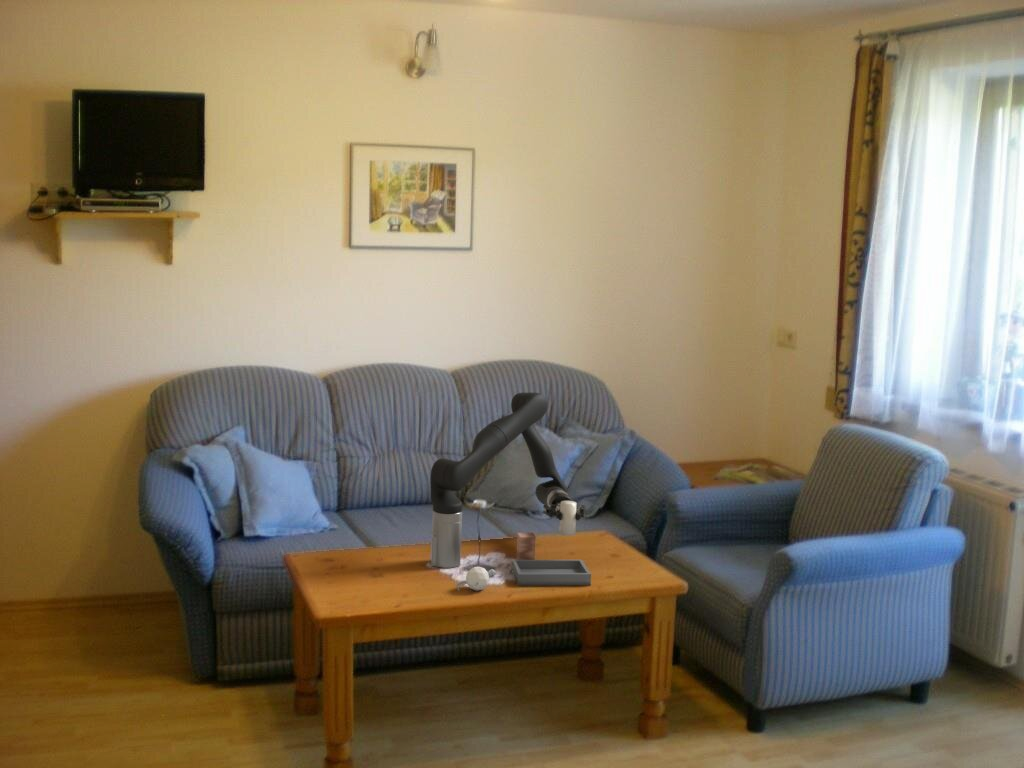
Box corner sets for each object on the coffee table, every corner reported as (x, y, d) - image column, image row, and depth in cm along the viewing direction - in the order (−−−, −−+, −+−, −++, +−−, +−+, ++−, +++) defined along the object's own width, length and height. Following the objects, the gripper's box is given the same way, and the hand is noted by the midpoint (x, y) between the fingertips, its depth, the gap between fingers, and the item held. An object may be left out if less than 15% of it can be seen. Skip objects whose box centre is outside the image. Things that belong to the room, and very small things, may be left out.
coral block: (518, 568, 345) (519, 537, 343) (516, 563, 350) (517, 532, 348) (534, 568, 345) (535, 537, 344) (531, 563, 350) (533, 532, 349)
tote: (518, 585, 328) (518, 574, 328) (511, 570, 342) (512, 559, 341) (590, 585, 331) (591, 574, 331) (581, 570, 345) (581, 559, 344)
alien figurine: (463, 602, 319) (501, 586, 321) (456, 580, 317) (494, 564, 320) (457, 593, 326) (494, 578, 328) (450, 572, 324) (487, 557, 327)
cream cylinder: (560, 535, 345) (562, 504, 343) (557, 531, 350) (559, 500, 348) (576, 535, 345) (578, 504, 344) (573, 531, 350) (574, 500, 349)
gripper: (538, 491, 359) (547, 505, 342) (581, 492, 361) (592, 505, 345) (537, 514, 360) (546, 528, 344) (580, 514, 362) (591, 529, 346)
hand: (569, 517), depth 344 cm, fingers closed on cream cylinder, 5 cm apart
